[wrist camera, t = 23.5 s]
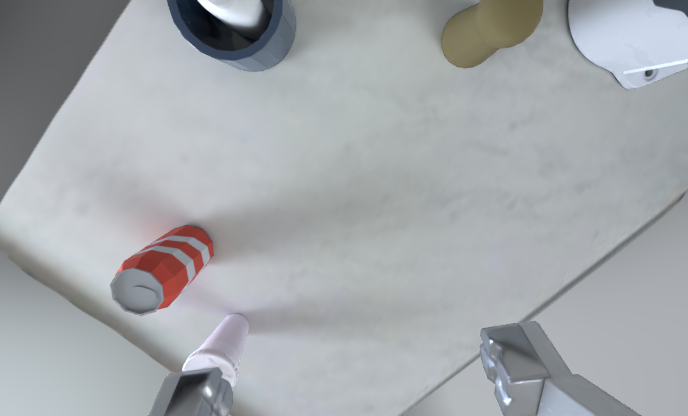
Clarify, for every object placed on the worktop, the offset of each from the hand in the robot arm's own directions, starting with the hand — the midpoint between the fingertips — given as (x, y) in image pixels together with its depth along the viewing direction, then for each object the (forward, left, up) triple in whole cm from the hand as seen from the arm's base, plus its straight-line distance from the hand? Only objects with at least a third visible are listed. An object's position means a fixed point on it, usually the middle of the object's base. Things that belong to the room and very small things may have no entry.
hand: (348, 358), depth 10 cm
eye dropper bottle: (+7, -19, -32) cm, 37 cm away
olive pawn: (-17, -12, -32) cm, 38 cm away
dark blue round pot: (+7, -19, -32) cm, 38 cm away
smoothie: (+20, +18, -32) cm, 42 cm away
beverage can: (+22, +5, -32) cm, 39 cm away
